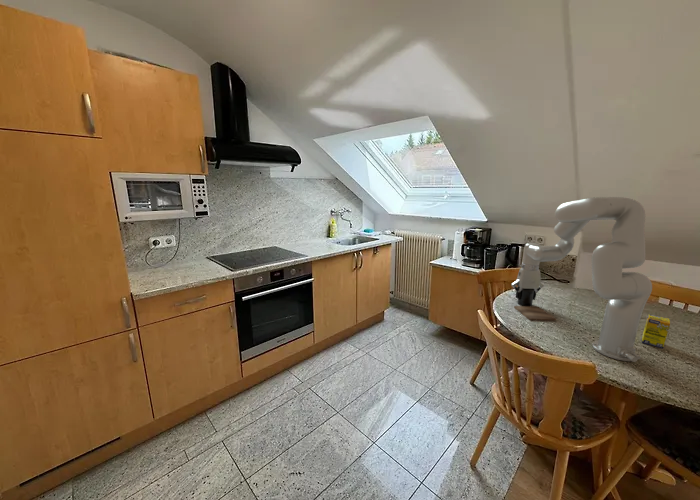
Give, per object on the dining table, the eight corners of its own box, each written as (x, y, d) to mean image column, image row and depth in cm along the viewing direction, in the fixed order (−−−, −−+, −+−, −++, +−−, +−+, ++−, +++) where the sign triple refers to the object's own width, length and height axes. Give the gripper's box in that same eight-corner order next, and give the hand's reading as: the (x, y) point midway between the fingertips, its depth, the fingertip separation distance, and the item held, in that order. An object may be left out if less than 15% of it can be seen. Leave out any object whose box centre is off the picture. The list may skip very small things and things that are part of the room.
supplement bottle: (527, 301, 153) (531, 281, 151) (534, 307, 147) (538, 285, 144) (514, 301, 154) (517, 280, 151) (520, 306, 147) (524, 284, 145)
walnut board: (555, 320, 132) (556, 318, 131) (529, 320, 132) (530, 318, 132) (537, 308, 145) (538, 306, 145) (514, 307, 146) (514, 305, 146)
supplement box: (641, 343, 113) (648, 318, 111) (641, 337, 117) (647, 313, 115) (663, 349, 109) (670, 323, 107) (662, 343, 113) (669, 318, 111)
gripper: (516, 268, 142) (512, 301, 146) (552, 269, 142) (546, 302, 146) (509, 264, 150) (505, 295, 154) (542, 265, 149) (537, 296, 153)
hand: (525, 298), depth 150 cm, fingers closed on supplement bottle, 6 cm apart
